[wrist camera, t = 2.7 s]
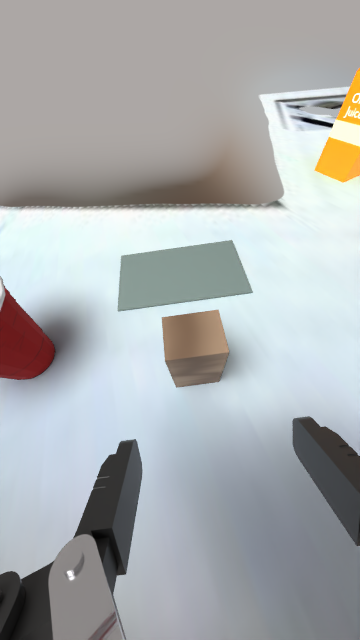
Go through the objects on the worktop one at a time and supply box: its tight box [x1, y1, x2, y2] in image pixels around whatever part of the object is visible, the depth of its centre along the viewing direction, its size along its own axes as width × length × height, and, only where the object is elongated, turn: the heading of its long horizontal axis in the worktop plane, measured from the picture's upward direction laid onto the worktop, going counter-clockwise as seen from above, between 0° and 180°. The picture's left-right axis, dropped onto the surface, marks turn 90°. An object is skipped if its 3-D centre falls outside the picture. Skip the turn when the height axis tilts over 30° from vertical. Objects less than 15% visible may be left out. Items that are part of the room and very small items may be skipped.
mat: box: [118, 240, 252, 311], centre depth 32 cm, size 20×12×1 cm, turn 96°
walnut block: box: [162, 310, 229, 388], centre depth 20 cm, size 5×4×9 cm
